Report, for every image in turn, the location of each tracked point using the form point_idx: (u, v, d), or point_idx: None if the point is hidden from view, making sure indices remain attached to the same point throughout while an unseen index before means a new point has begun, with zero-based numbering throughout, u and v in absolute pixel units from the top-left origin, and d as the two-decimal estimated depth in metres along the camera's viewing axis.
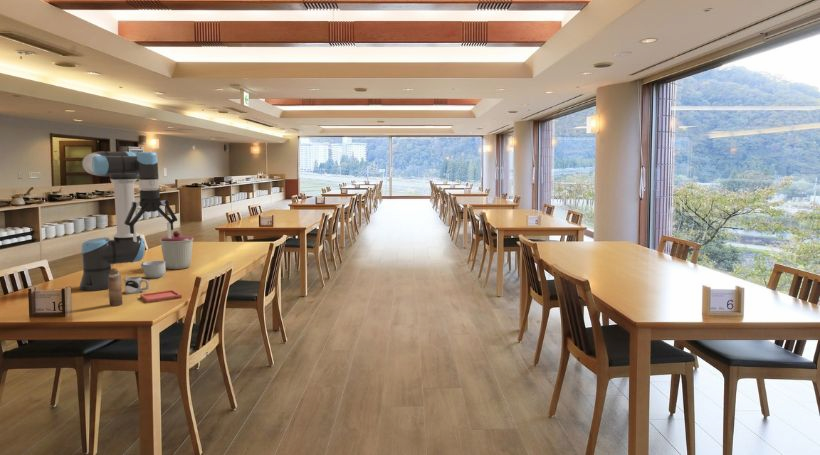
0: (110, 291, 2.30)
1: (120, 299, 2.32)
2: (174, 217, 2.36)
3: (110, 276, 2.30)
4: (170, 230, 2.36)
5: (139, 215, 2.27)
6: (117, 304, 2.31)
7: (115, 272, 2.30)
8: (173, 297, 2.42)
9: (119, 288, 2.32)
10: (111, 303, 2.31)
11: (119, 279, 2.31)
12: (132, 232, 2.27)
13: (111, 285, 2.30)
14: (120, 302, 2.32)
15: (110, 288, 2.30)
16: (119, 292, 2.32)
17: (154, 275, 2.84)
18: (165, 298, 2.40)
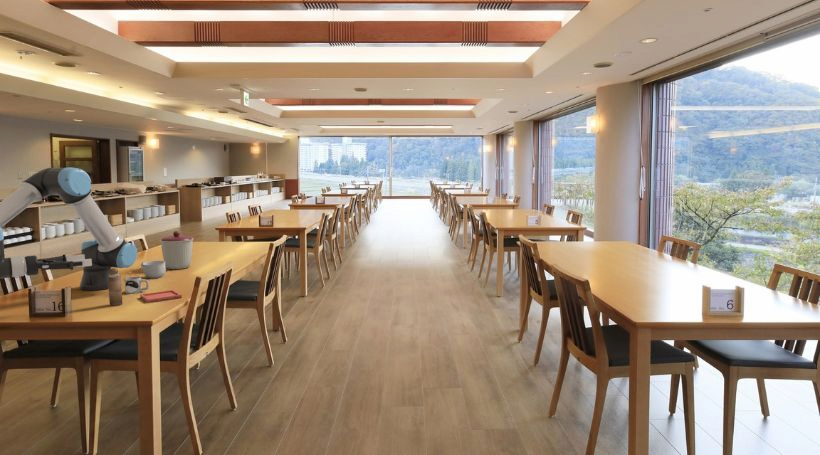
0: (110, 291, 2.30)
1: (120, 299, 2.32)
2: None
3: (110, 276, 2.30)
4: (82, 266, 2.17)
5: None
6: (117, 304, 2.31)
7: (115, 272, 2.30)
8: (173, 297, 2.42)
9: (119, 288, 2.32)
10: (111, 303, 2.31)
11: (119, 279, 2.31)
12: (73, 260, 2.28)
13: (110, 285, 2.30)
14: (120, 302, 2.32)
15: (110, 288, 2.30)
16: (119, 292, 2.32)
17: (154, 275, 2.84)
18: (165, 298, 2.40)
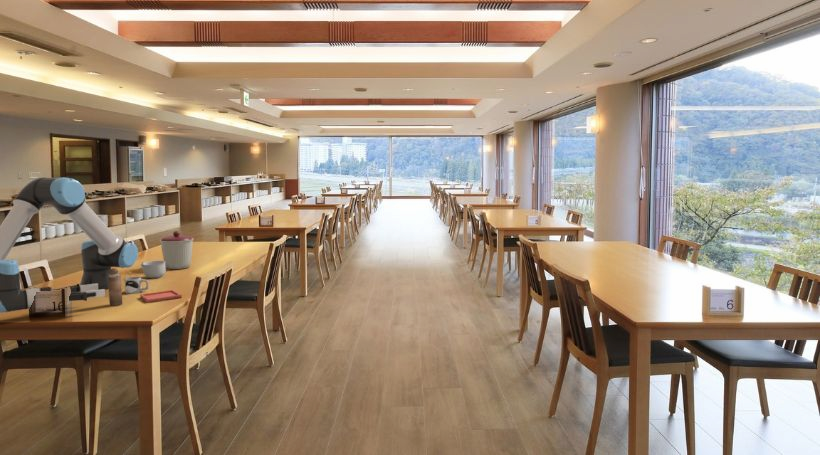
0: (110, 291, 2.30)
1: (120, 299, 2.32)
2: None
3: (110, 276, 2.30)
4: None
5: None
6: (117, 304, 2.31)
7: (115, 272, 2.30)
8: (173, 297, 2.42)
9: (119, 288, 2.32)
10: (111, 303, 2.31)
11: (119, 279, 2.31)
12: None
13: (111, 285, 2.30)
14: (120, 302, 2.32)
15: (110, 288, 2.30)
16: (119, 292, 2.32)
17: (154, 275, 2.84)
18: (165, 298, 2.40)
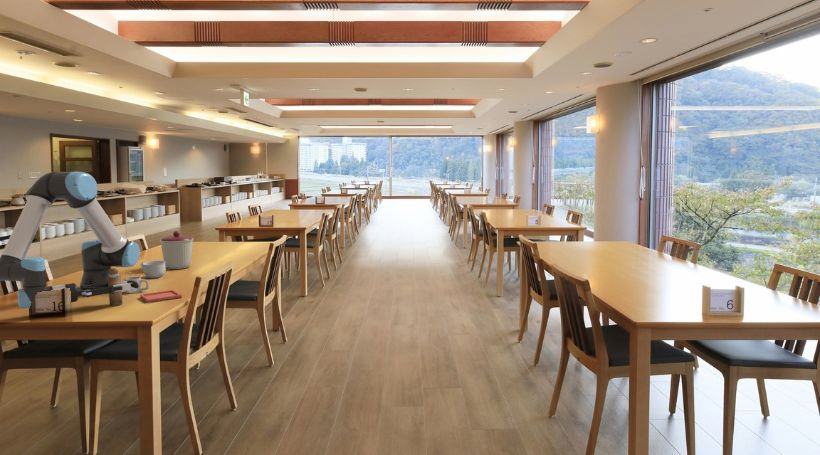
0: None
1: (120, 299, 2.32)
2: None
3: (110, 276, 2.30)
4: (121, 290, 2.31)
5: None
6: (117, 304, 2.31)
7: (115, 272, 2.30)
8: (173, 297, 2.42)
9: None
10: (111, 303, 2.31)
11: (119, 279, 2.31)
12: None
13: (110, 285, 2.30)
14: (120, 302, 2.32)
15: None
16: (119, 292, 2.32)
17: (154, 275, 2.84)
18: (165, 298, 2.40)
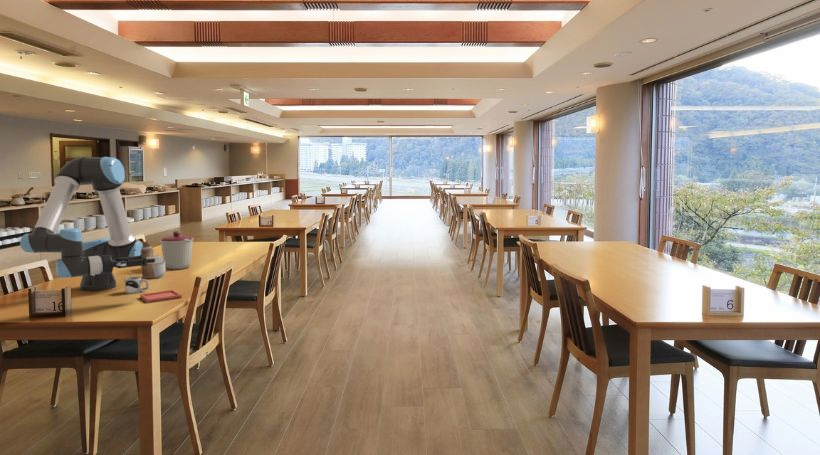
0: None
1: (152, 271, 2.38)
2: None
3: (143, 249, 2.36)
4: None
5: None
6: (150, 276, 2.37)
7: (148, 245, 2.37)
8: (173, 297, 2.42)
9: None
10: (144, 275, 2.37)
11: (152, 252, 2.38)
12: None
13: (143, 257, 2.36)
14: (152, 274, 2.38)
15: None
16: (152, 264, 2.38)
17: None
18: (165, 298, 2.40)
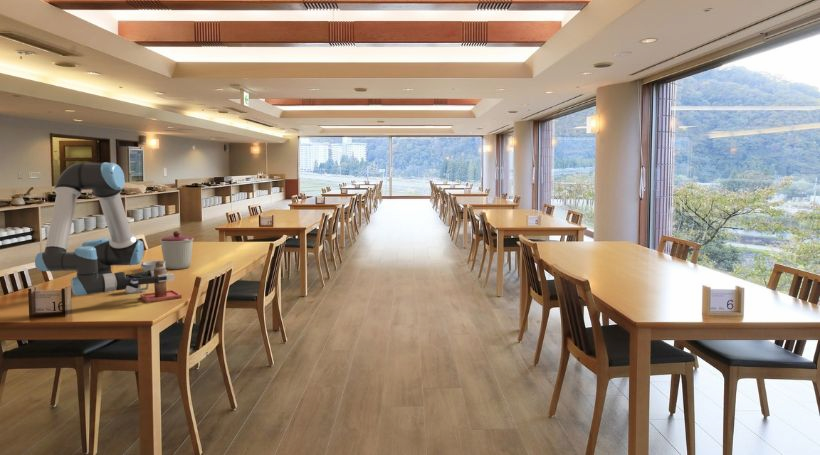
0: (156, 283, 2.41)
1: (165, 291, 2.44)
2: None
3: (156, 269, 2.41)
4: (165, 280, 2.40)
5: None
6: (162, 295, 2.43)
7: (161, 265, 2.42)
8: (173, 297, 2.42)
9: None
10: (156, 294, 2.42)
11: (164, 272, 2.43)
12: None
13: None
14: (165, 294, 2.44)
15: None
16: (164, 284, 2.43)
17: None
18: (165, 298, 2.40)
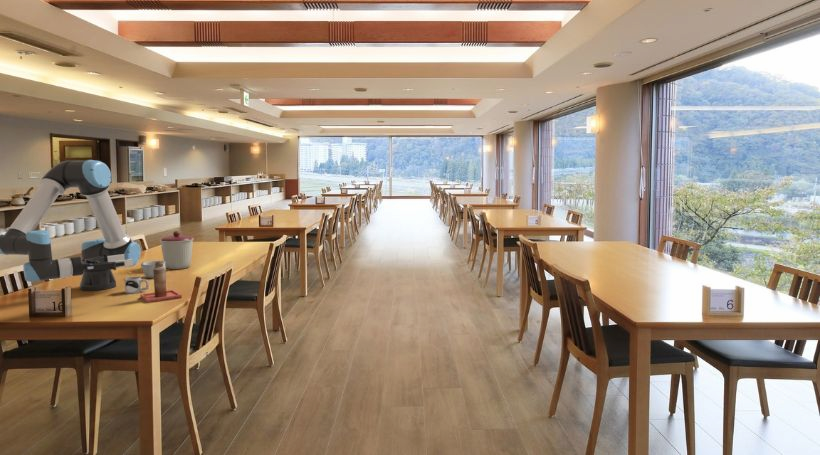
0: (156, 283, 2.41)
1: (165, 291, 2.44)
2: None
3: (156, 269, 2.41)
4: (124, 266, 2.28)
5: None
6: (162, 295, 2.43)
7: (160, 265, 2.42)
8: (173, 297, 2.42)
9: (164, 280, 2.43)
10: (156, 294, 2.42)
11: (164, 272, 2.43)
12: None
13: (156, 277, 2.41)
14: (165, 294, 2.44)
15: (156, 280, 2.41)
16: (164, 284, 2.43)
17: None
18: (165, 298, 2.40)
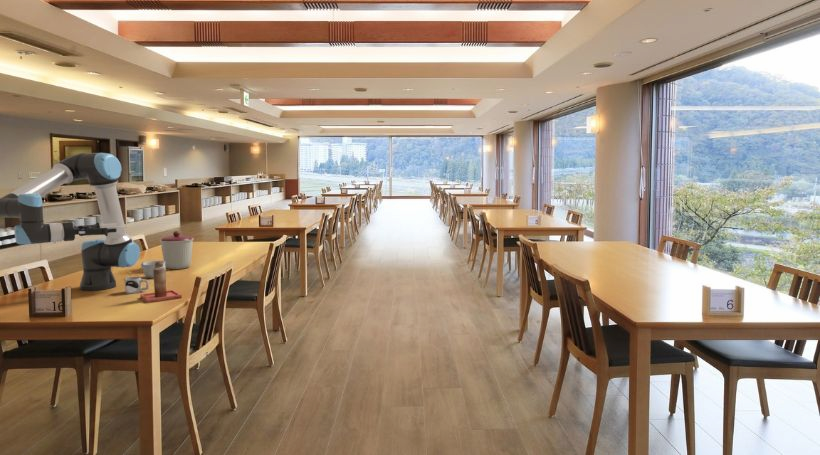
0: (155, 283, 2.41)
1: (165, 291, 2.44)
2: (101, 234, 2.22)
3: (155, 269, 2.41)
4: (115, 233, 2.27)
5: None
6: (162, 295, 2.43)
7: (160, 265, 2.42)
8: (173, 297, 2.42)
9: (164, 280, 2.43)
10: (156, 294, 2.42)
11: (164, 272, 2.43)
12: None
13: (156, 277, 2.41)
14: (165, 294, 2.44)
15: (156, 280, 2.41)
16: (164, 284, 2.43)
17: None
18: (165, 298, 2.40)
